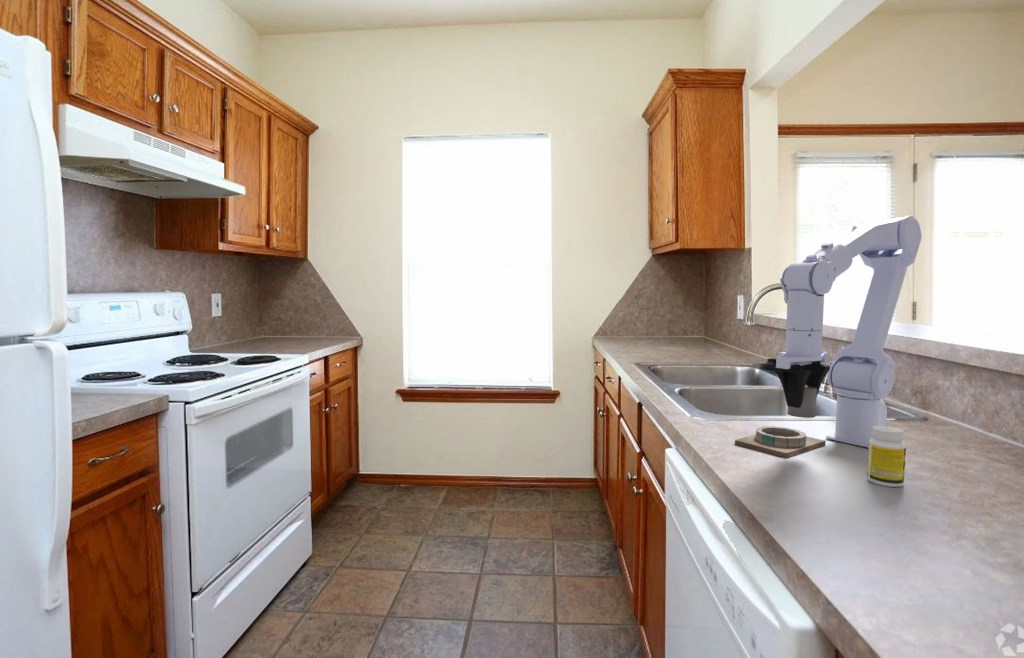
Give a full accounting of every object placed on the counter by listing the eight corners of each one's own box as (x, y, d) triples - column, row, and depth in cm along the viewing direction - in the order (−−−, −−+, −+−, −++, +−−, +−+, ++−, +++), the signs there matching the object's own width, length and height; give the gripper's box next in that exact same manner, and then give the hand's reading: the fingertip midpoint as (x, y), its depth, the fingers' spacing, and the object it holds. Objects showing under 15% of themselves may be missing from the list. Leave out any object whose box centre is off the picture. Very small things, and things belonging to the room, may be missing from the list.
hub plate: (774, 433, 111) (775, 421, 111) (825, 444, 103) (826, 432, 103) (734, 444, 103) (735, 431, 103) (786, 457, 95) (786, 444, 95)
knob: (795, 410, 100) (797, 382, 100) (820, 415, 97) (822, 386, 96) (782, 413, 98) (783, 384, 98) (807, 419, 94) (808, 388, 94)
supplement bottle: (910, 489, 81) (913, 433, 80) (875, 486, 82) (878, 431, 81) (894, 477, 85) (897, 425, 85) (861, 475, 86) (864, 424, 86)
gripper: (801, 326, 104) (798, 396, 105) (760, 330, 95) (757, 406, 96) (841, 329, 98) (837, 402, 99) (801, 333, 90) (797, 413, 91)
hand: (800, 404), depth 97 cm, fingers closed on knob, 4 cm apart
